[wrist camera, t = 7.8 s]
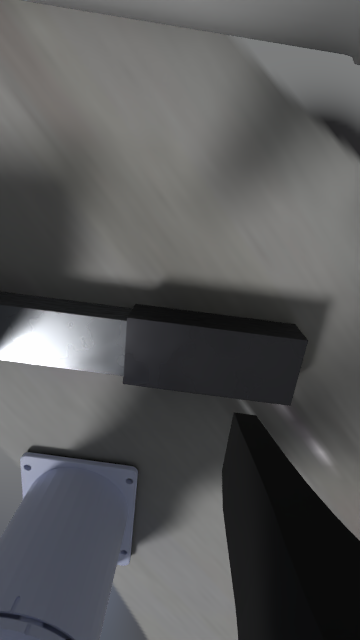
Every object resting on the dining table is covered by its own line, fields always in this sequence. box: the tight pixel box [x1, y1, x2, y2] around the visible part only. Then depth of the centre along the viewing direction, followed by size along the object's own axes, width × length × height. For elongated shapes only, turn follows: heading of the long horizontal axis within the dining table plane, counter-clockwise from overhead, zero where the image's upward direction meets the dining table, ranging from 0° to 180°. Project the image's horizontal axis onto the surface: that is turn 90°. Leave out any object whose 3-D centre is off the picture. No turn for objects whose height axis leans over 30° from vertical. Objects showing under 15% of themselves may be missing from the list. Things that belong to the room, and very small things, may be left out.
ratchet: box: [0, 292, 308, 406], centre depth 17 cm, size 6×23×5 cm, turn 83°
